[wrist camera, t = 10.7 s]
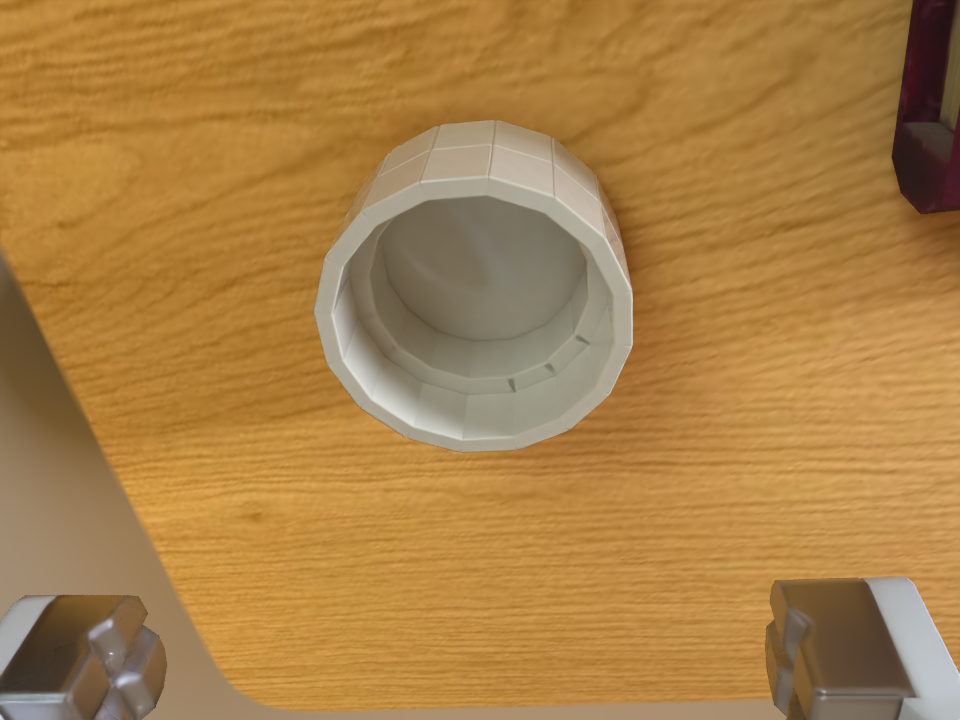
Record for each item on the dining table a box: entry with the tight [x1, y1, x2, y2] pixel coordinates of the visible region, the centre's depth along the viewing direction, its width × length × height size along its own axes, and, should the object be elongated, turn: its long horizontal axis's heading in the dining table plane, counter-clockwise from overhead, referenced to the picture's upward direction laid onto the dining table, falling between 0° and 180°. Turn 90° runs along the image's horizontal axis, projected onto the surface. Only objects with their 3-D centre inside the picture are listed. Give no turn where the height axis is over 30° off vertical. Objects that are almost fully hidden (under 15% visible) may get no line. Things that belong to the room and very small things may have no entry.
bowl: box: [314, 120, 633, 453], centre depth 18 cm, size 6×6×4 cm
